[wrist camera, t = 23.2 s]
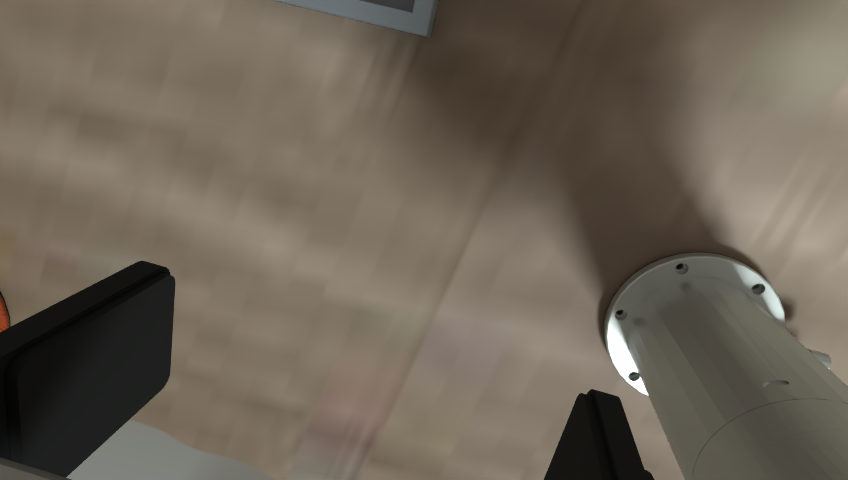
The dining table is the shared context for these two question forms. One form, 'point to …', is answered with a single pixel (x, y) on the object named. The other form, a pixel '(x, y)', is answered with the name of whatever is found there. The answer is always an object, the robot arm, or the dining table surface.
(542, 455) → the dining table surface
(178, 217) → the dining table surface
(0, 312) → the potted flower
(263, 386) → the dining table surface
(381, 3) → the tray
